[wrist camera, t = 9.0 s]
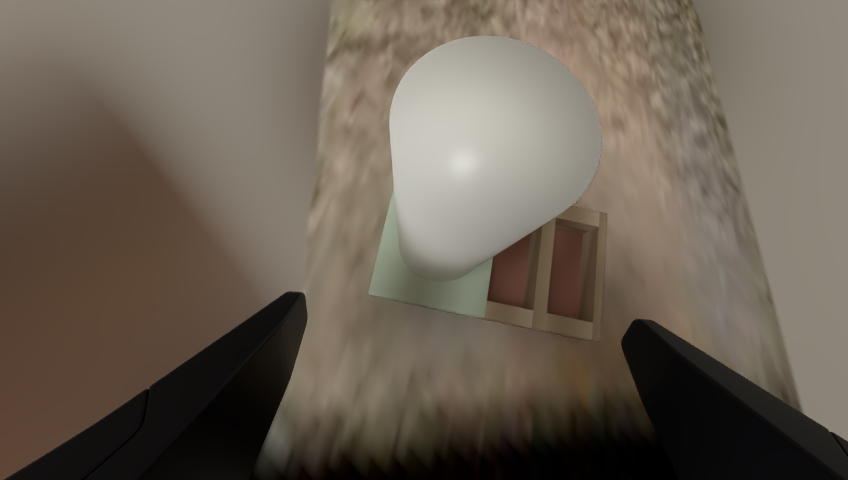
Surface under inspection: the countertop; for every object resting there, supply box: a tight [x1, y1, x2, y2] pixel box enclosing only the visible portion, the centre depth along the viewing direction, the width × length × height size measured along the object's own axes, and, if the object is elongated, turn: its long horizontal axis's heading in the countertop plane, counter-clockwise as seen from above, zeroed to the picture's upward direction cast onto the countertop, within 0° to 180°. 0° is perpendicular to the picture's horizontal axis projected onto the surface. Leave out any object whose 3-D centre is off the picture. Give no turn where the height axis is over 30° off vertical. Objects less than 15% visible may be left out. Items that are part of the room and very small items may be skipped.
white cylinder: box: [389, 36, 602, 283], centre depth 13 cm, size 5×5×12 cm
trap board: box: [368, 188, 607, 342], centre depth 20 cm, size 14×8×2 cm, turn 79°
